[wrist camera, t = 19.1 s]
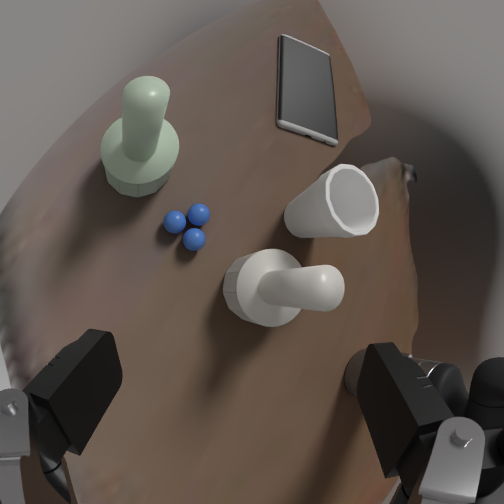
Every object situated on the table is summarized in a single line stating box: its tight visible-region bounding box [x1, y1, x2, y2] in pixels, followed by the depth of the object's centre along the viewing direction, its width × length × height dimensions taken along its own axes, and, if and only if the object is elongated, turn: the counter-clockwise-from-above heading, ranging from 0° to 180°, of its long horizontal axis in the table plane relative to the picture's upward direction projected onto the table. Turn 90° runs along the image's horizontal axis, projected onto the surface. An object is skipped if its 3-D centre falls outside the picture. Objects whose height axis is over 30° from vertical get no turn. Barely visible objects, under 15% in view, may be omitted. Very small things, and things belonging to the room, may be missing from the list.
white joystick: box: [223, 249, 345, 327], centre depth 34 cm, size 10×10×17 cm
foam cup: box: [284, 164, 379, 238], centre depth 41 cm, size 10×9×13 cm
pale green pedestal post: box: [101, 76, 179, 198], centre depth 29 cm, size 10×10×17 cm
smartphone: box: [276, 34, 338, 146], centre depth 51 cm, size 13×27×2 cm, turn 175°
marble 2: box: [188, 204, 210, 226], centre depth 38 cm, size 3×3×3 cm
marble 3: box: [183, 228, 205, 251], centre depth 38 cm, size 3×3×3 cm
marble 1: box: [164, 211, 186, 234], centre depth 37 cm, size 3×3×3 cm
